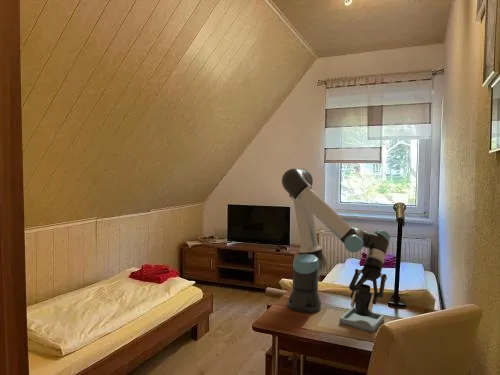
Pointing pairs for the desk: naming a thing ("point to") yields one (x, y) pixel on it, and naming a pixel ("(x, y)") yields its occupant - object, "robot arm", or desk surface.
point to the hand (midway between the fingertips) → (360, 308)
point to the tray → (362, 320)
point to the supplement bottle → (363, 300)
